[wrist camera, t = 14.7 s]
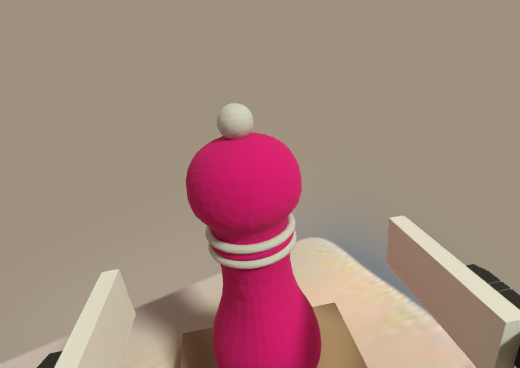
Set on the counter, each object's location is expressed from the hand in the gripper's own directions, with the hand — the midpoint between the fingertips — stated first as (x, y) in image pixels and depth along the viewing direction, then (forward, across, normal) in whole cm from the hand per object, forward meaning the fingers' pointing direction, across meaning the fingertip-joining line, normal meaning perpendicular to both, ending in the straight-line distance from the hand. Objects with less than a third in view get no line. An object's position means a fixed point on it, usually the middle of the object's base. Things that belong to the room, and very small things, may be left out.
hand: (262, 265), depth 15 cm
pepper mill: (+3, 0, -13) cm, 13 cm away
